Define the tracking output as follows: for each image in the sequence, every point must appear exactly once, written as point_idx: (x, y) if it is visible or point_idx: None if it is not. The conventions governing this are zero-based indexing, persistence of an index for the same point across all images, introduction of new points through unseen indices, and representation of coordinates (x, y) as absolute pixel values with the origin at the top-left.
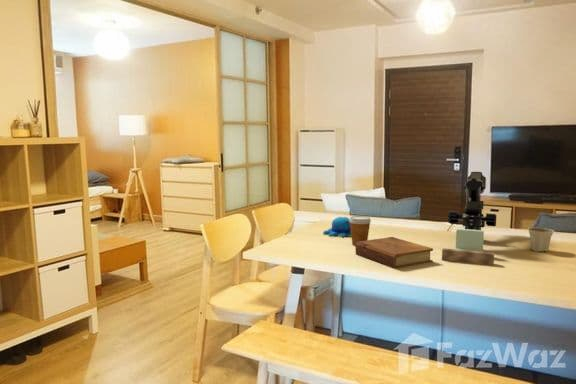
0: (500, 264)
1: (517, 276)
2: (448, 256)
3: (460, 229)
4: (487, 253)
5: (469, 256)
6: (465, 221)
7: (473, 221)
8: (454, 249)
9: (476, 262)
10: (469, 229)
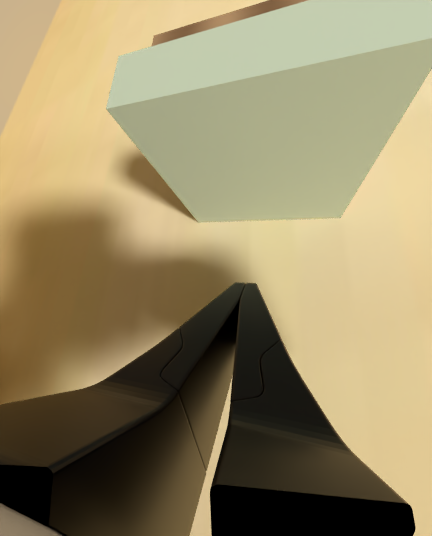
0: None
1: (132, 21)
2: None
3: (376, 6)
4: (178, 32)
5: None
6: (368, 468)
7: (132, 416)
8: None
9: None
10: (251, 76)
